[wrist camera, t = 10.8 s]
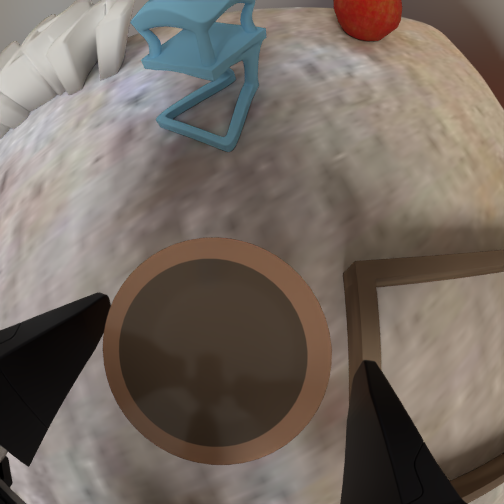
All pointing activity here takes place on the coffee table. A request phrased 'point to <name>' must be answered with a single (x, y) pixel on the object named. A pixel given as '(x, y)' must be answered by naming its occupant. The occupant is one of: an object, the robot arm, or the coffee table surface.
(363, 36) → the apple
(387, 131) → the coffee table surface
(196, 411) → the terracotta pot
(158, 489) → the coffee table surface
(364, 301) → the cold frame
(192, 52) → the chair
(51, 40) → the white wavy slab sculpture
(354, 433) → the robot arm
